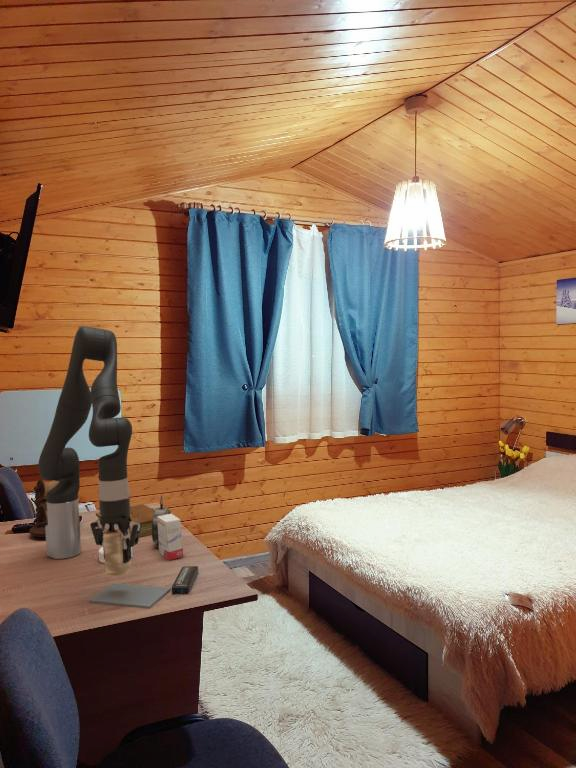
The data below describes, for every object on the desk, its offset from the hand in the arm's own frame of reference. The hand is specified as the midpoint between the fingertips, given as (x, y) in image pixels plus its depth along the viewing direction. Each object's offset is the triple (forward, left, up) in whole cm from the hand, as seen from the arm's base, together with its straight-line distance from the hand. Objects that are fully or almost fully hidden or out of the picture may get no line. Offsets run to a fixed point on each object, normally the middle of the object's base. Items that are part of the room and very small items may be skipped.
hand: (117, 561), depth 148 cm
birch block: (0, 0, -3) cm, 3 cm away
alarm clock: (-8, +38, -9) cm, 39 cm away
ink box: (0, +29, -9) cm, 30 cm away
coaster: (-16, +24, -9) cm, 30 cm away
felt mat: (+3, 0, -9) cm, 9 cm away
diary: (-27, +51, -10) cm, 59 cm away
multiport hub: (+14, +10, -9) cm, 20 cm away
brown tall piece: (-52, +41, -9) cm, 67 cm away
